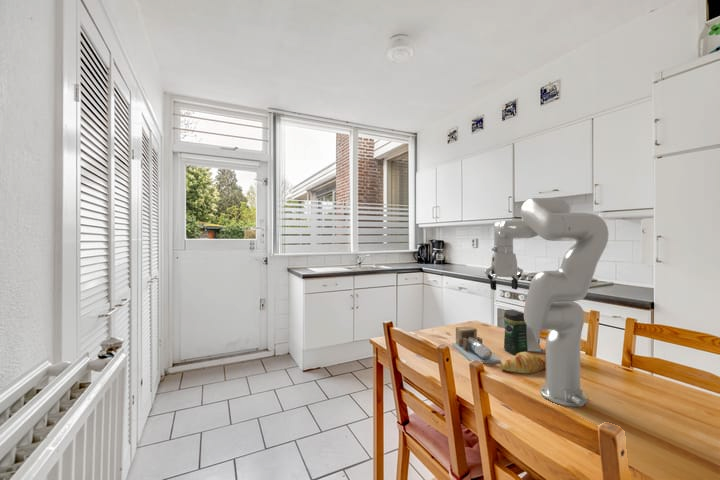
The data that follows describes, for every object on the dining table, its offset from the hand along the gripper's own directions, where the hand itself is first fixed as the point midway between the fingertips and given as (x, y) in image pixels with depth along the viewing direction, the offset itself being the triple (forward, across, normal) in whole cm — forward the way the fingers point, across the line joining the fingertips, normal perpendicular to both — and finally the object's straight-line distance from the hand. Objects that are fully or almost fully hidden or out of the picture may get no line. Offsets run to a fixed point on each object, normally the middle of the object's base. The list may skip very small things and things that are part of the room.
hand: (504, 289), depth 140 cm
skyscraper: (+29, +16, +4) cm, 33 cm away
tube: (+28, -12, 0) cm, 30 cm away
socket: (+27, -12, +12) cm, 32 cm away
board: (+29, -12, +4) cm, 31 cm away
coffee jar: (+29, +7, +3) cm, 30 cm away
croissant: (+30, 0, -14) cm, 33 cm away
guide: (+28, -12, +6) cm, 31 cm away
